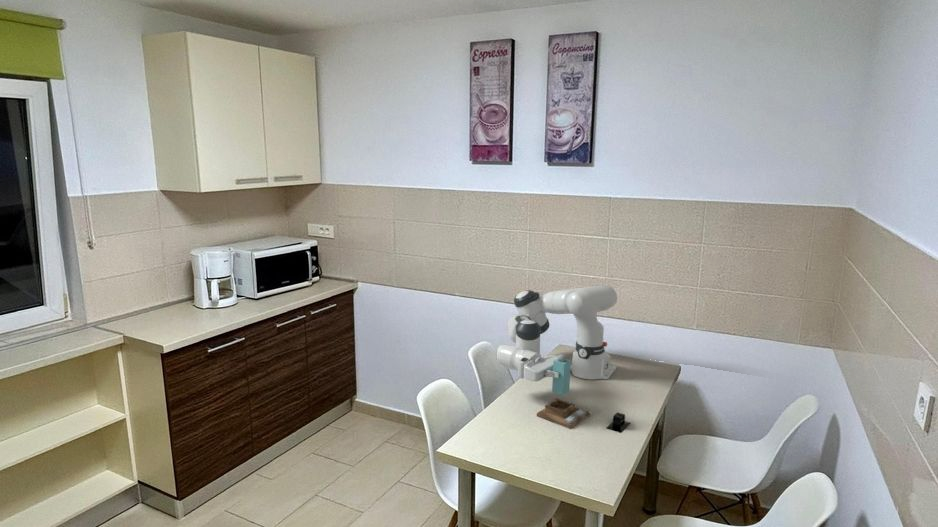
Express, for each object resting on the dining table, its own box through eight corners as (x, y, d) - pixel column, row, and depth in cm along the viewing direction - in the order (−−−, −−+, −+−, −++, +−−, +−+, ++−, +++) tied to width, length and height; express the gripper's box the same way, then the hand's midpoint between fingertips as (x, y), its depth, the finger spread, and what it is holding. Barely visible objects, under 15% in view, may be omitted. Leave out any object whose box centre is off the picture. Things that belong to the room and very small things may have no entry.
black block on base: (621, 437, 185) (622, 424, 184) (601, 430, 189) (602, 418, 188) (634, 423, 195) (635, 411, 194) (614, 417, 199) (615, 405, 198)
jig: (557, 403, 209) (557, 394, 208) (589, 415, 200) (590, 405, 199) (536, 416, 198) (537, 406, 198) (569, 428, 189) (570, 418, 188)
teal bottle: (558, 388, 201) (560, 352, 199) (569, 391, 198) (571, 355, 196) (552, 391, 198) (553, 355, 195) (562, 395, 195) (564, 358, 192)
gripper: (546, 363, 213) (577, 373, 204) (516, 379, 198) (548, 389, 189) (547, 348, 212) (578, 357, 203) (516, 362, 197) (548, 372, 188)
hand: (563, 372), depth 196 cm, fingers closed on teal bottle, 4 cm apart
